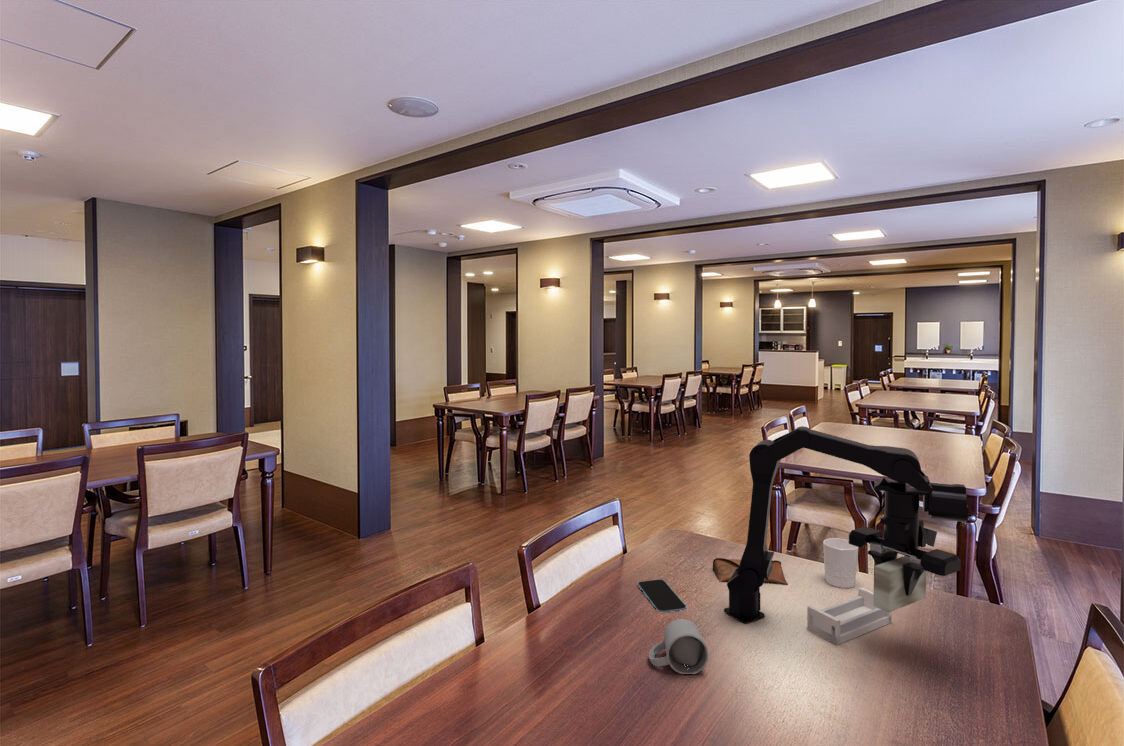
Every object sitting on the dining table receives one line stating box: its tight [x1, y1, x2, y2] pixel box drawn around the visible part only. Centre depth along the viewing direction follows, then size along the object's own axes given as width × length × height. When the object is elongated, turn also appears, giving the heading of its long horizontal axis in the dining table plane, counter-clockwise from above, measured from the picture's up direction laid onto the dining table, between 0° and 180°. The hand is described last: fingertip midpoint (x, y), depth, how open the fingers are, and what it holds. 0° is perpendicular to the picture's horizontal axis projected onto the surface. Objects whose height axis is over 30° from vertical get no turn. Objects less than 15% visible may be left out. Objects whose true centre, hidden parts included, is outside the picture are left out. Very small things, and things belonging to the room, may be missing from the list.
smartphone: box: [637, 578, 687, 613], centre depth 132 cm, size 7×1×15 cm
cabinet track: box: [806, 587, 893, 646], centre depth 118 cm, size 18×7×5 cm, turn 117°
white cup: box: [822, 537, 859, 589], centre depth 138 cm, size 8×8×10 cm
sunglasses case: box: [712, 557, 789, 586], centre depth 143 cm, size 18×7×7 cm, turn 83°
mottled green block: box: [873, 555, 927, 613], centre depth 107 cm, size 12×3×8 cm, turn 117°
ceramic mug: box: [648, 618, 709, 675], centre depth 105 cm, size 11×8×8 cm
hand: (900, 591), depth 108 cm, fingers closed on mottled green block, 3 cm apart
